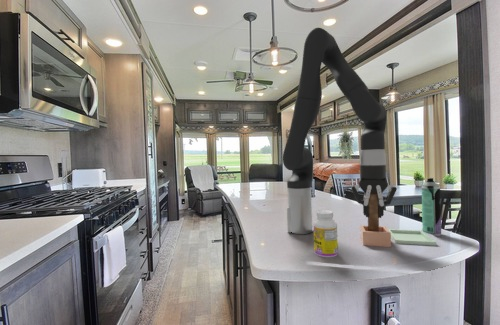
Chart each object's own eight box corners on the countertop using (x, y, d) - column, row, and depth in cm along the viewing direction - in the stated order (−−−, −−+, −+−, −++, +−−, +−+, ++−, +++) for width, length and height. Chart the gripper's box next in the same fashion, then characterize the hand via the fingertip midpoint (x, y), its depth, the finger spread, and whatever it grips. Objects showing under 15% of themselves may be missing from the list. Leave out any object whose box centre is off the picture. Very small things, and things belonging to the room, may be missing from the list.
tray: (395, 245, 81) (395, 240, 81) (387, 234, 93) (386, 229, 93) (436, 248, 78) (436, 242, 78) (421, 235, 90) (421, 230, 90)
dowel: (368, 234, 82) (368, 193, 82) (367, 231, 85) (366, 192, 85) (379, 235, 81) (379, 194, 81) (378, 232, 84) (377, 192, 84)
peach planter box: (363, 247, 80) (362, 231, 80) (360, 240, 88) (360, 225, 88) (391, 249, 78) (390, 233, 78) (385, 241, 85) (385, 226, 85)
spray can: (444, 236, 88) (443, 178, 88) (427, 236, 90) (425, 178, 89) (436, 231, 94) (435, 177, 94) (420, 231, 95) (418, 177, 95)
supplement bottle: (311, 252, 78) (309, 210, 78) (332, 250, 78) (331, 209, 78) (318, 260, 71) (317, 214, 71) (341, 259, 72) (340, 213, 72)
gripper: (350, 164, 81) (350, 218, 81) (400, 163, 77) (400, 221, 77) (348, 163, 88) (349, 213, 88) (394, 163, 84) (394, 215, 84)
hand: (373, 216), depth 83 cm, fingers closed on dowel, 3 cm apart
